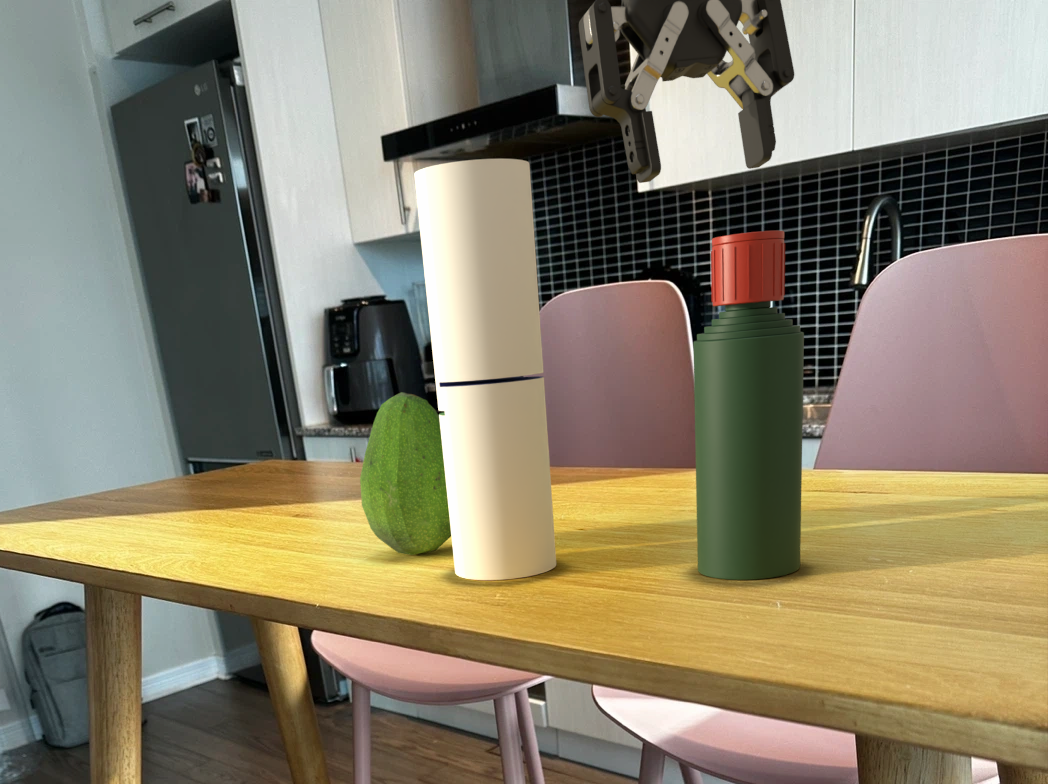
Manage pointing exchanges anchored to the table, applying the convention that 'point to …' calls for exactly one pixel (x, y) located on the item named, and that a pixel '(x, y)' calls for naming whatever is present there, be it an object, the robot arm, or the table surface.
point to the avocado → (406, 477)
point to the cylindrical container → (488, 364)
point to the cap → (748, 268)
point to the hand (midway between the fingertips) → (706, 171)
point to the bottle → (748, 443)
